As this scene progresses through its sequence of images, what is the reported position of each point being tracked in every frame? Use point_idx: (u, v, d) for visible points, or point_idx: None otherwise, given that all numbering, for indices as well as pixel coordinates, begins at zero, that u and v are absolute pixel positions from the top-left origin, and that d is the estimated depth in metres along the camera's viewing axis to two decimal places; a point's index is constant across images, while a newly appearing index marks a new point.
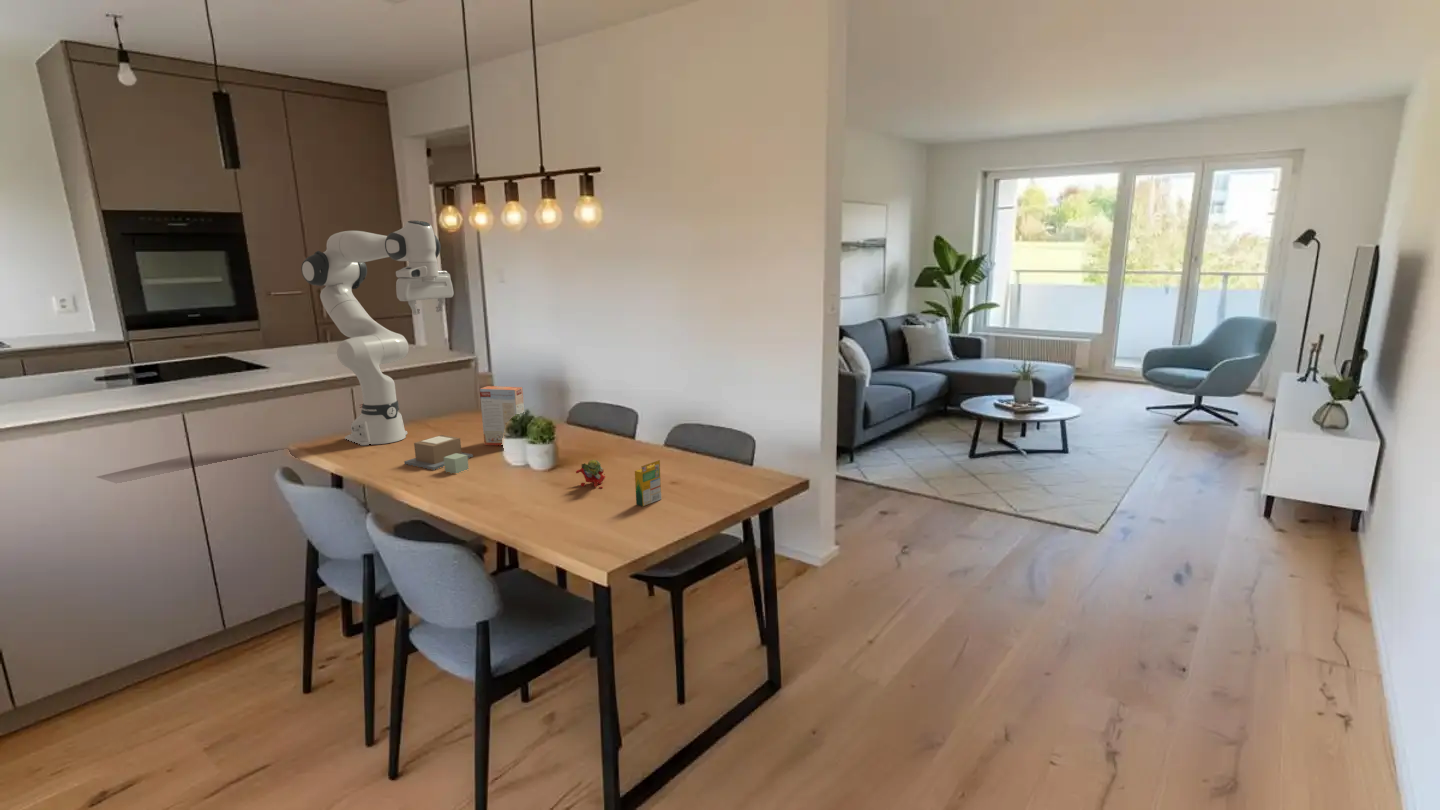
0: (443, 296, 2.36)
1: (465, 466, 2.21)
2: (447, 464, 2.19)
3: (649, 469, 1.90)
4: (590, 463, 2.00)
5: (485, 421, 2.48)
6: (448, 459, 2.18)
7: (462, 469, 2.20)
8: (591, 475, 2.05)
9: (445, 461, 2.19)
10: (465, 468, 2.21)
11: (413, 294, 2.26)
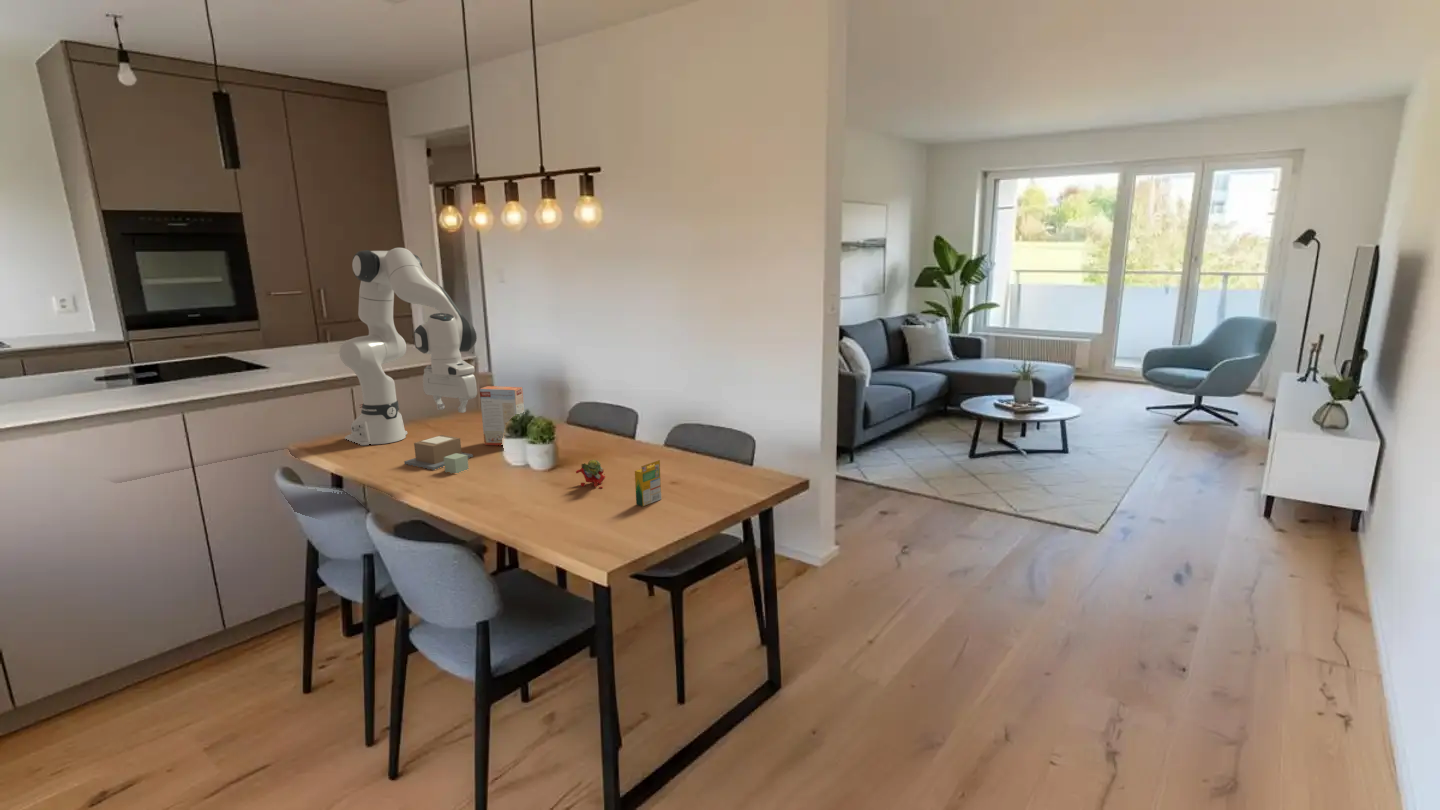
0: None
1: (465, 466, 2.21)
2: (447, 464, 2.19)
3: (649, 469, 1.90)
4: (590, 463, 2.00)
5: (485, 421, 2.48)
6: (448, 459, 2.18)
7: (462, 469, 2.20)
8: (591, 475, 2.05)
9: (445, 461, 2.19)
10: (465, 468, 2.21)
11: None
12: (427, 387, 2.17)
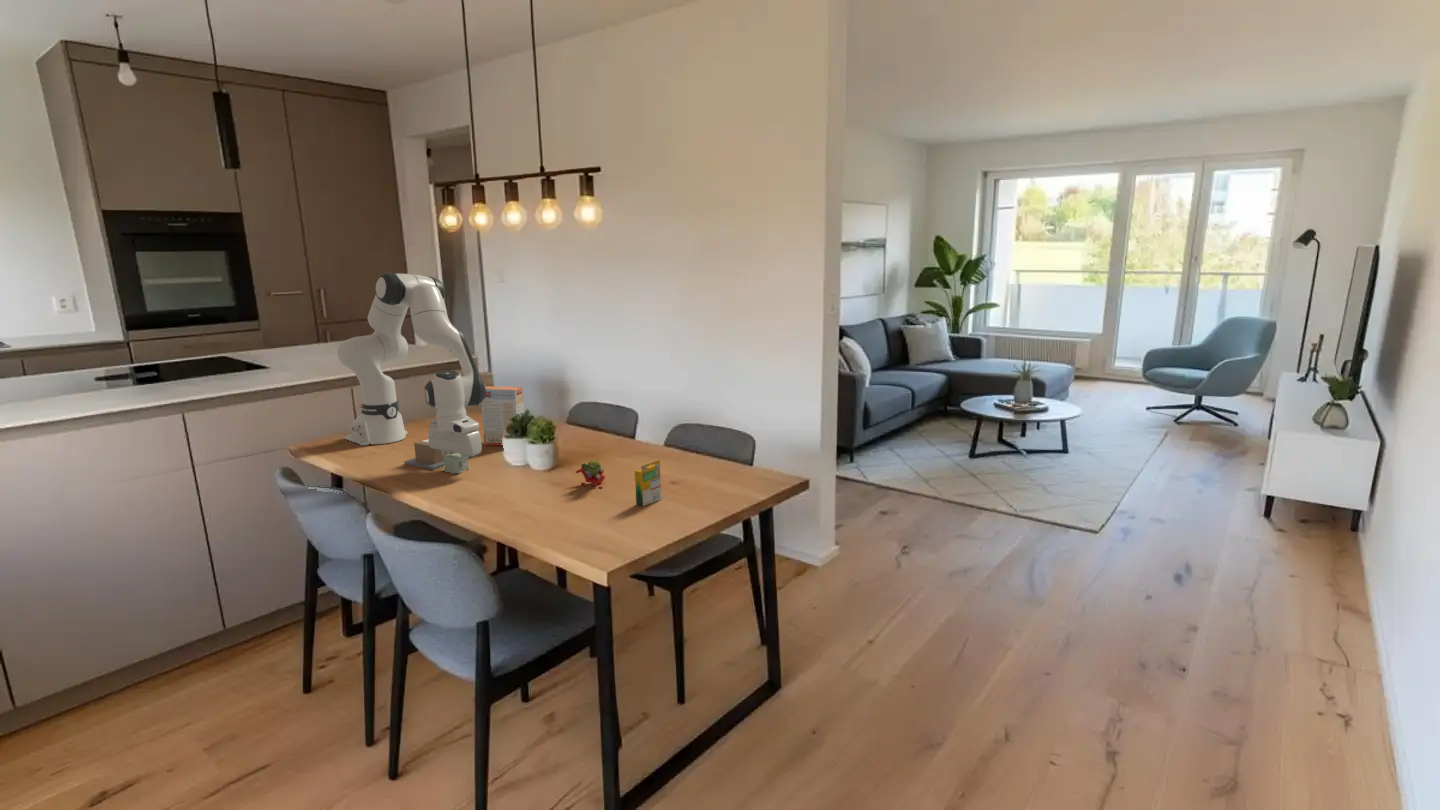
0: None
1: None
2: (447, 464, 2.19)
3: (649, 469, 1.90)
4: (590, 463, 2.00)
5: (485, 421, 2.48)
6: (448, 459, 2.18)
7: (462, 469, 2.20)
8: (591, 475, 2.05)
9: (445, 461, 2.19)
10: (465, 468, 2.21)
11: None
12: (432, 442, 2.21)
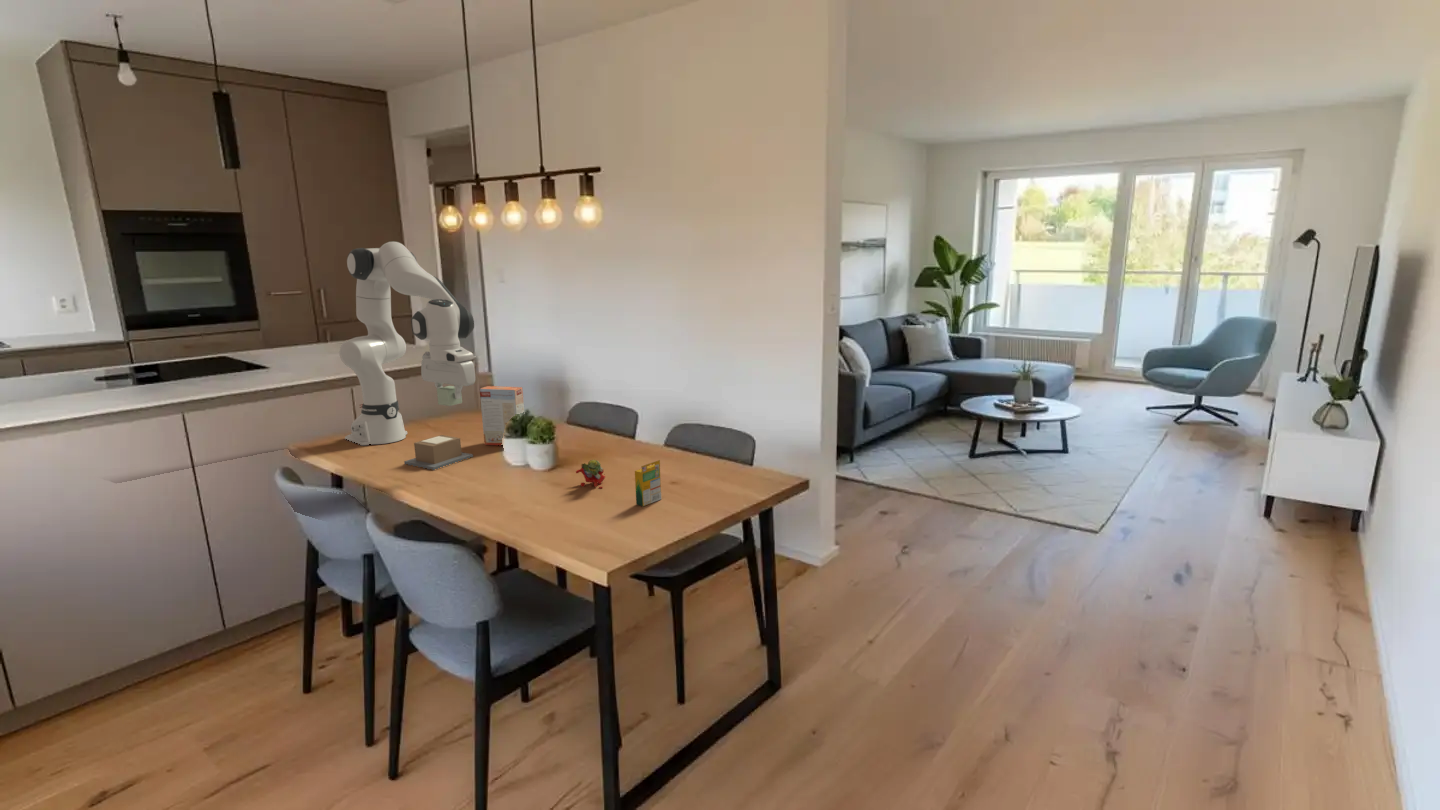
0: None
1: (459, 398, 2.16)
2: (440, 395, 2.14)
3: (649, 469, 1.90)
4: (590, 463, 2.00)
5: (485, 421, 2.48)
6: (441, 390, 2.13)
7: (455, 401, 2.15)
8: (591, 475, 2.05)
9: (438, 392, 2.14)
10: (459, 400, 2.16)
11: None
12: (425, 374, 2.16)
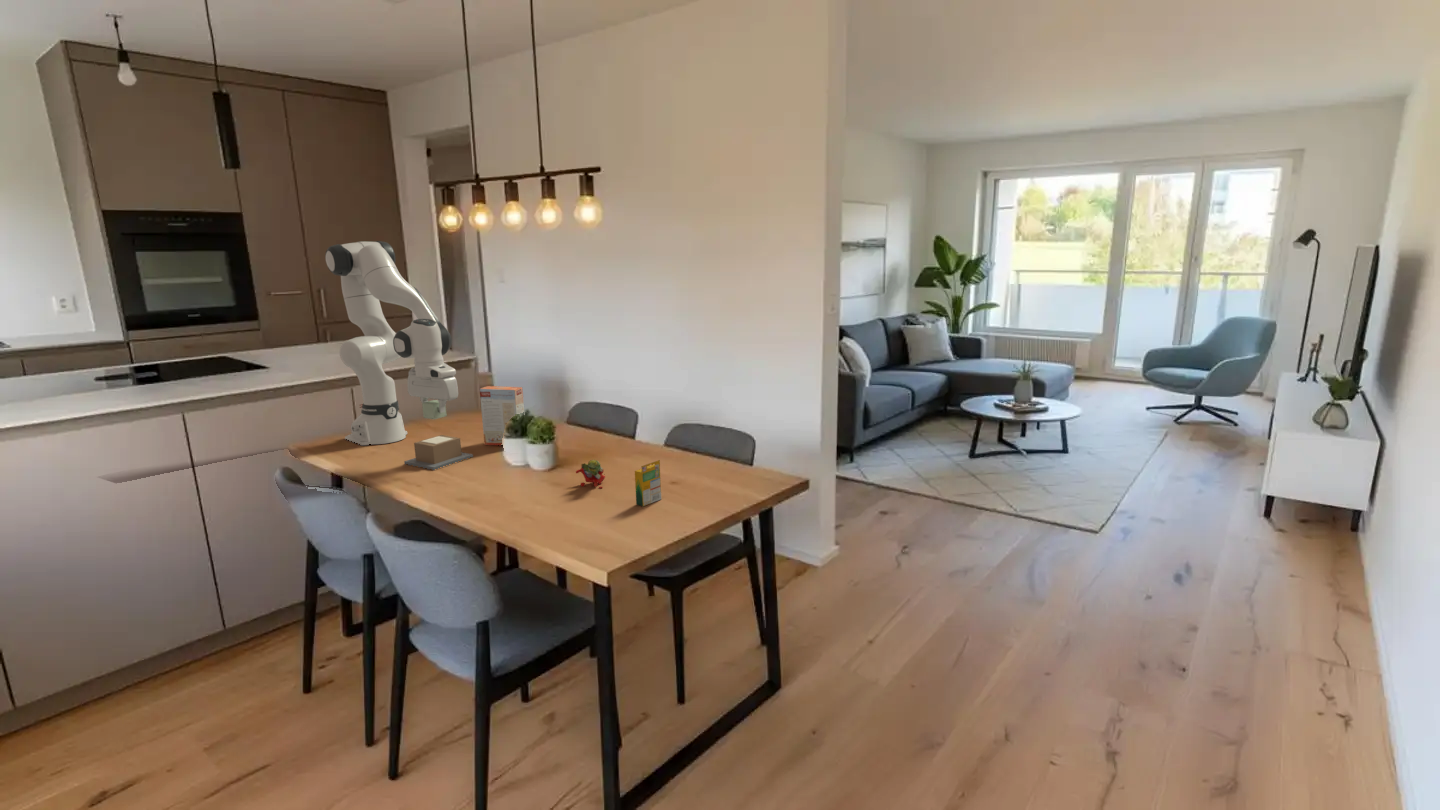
0: None
1: (443, 412, 2.28)
2: (425, 409, 2.26)
3: (649, 469, 1.90)
4: (590, 463, 2.00)
5: (485, 421, 2.48)
6: (426, 404, 2.26)
7: (440, 414, 2.27)
8: (591, 475, 2.05)
9: (423, 407, 2.27)
10: (443, 414, 2.28)
11: None
12: (411, 389, 2.29)
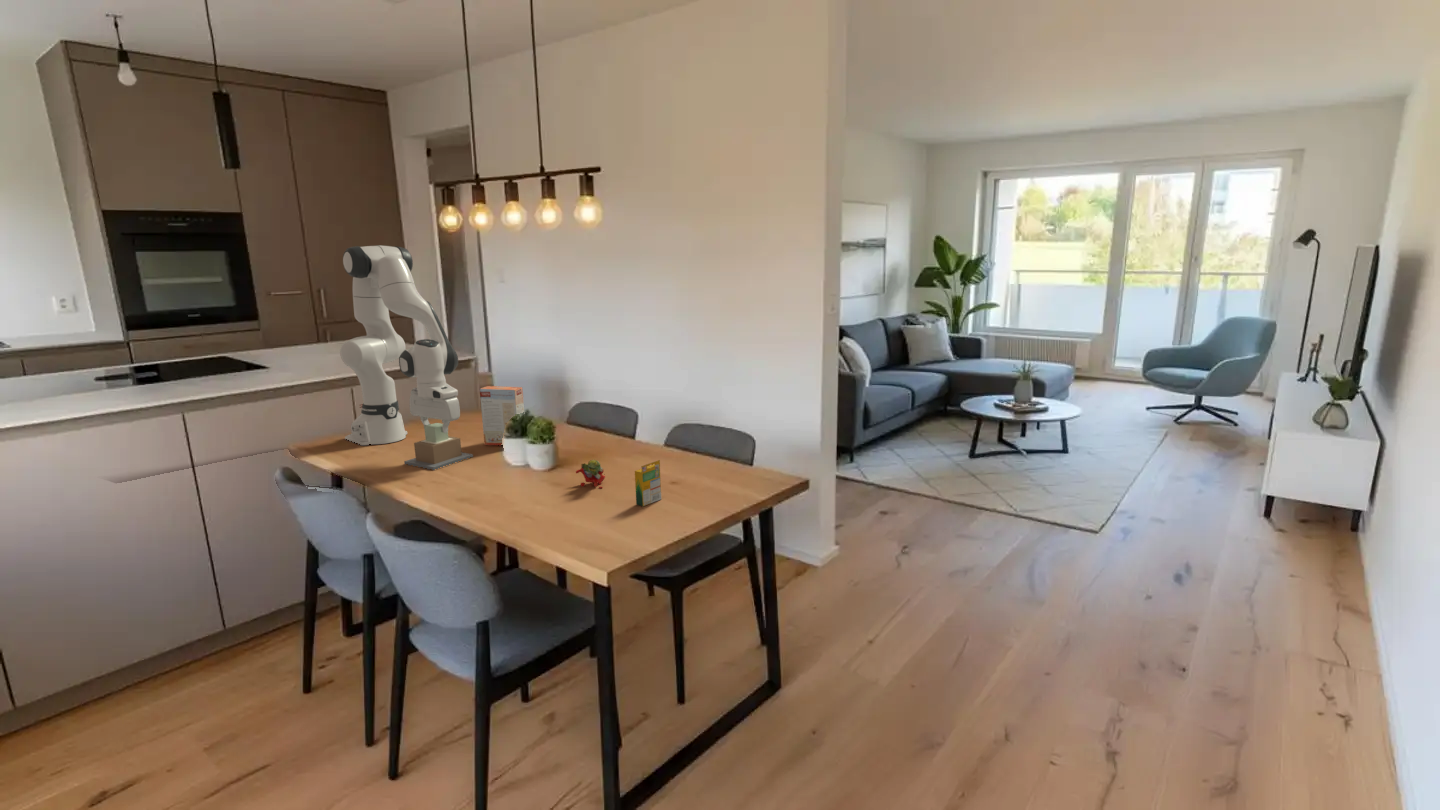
0: None
1: (445, 435, 2.30)
2: (427, 433, 2.28)
3: (649, 469, 1.90)
4: (590, 463, 2.00)
5: (485, 421, 2.48)
6: (428, 428, 2.28)
7: (442, 438, 2.29)
8: (591, 475, 2.05)
9: (425, 430, 2.28)
10: (445, 437, 2.30)
11: None
12: (413, 408, 2.30)
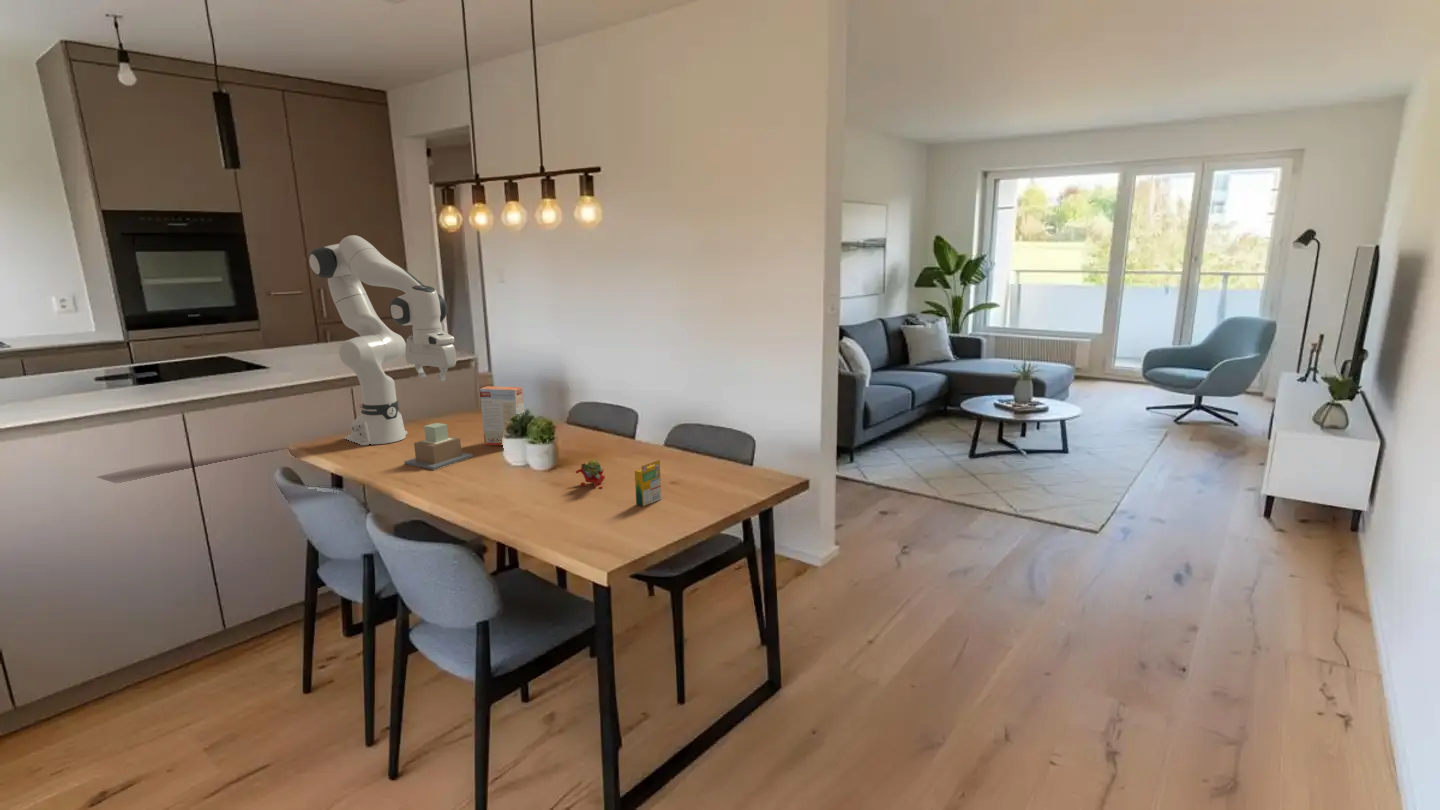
0: None
1: (445, 435, 2.30)
2: (427, 433, 2.28)
3: (649, 469, 1.90)
4: (590, 463, 2.00)
5: (485, 421, 2.48)
6: (428, 428, 2.28)
7: (442, 438, 2.29)
8: (591, 475, 2.05)
9: (425, 430, 2.28)
10: (445, 437, 2.30)
11: None
12: (409, 356, 2.28)
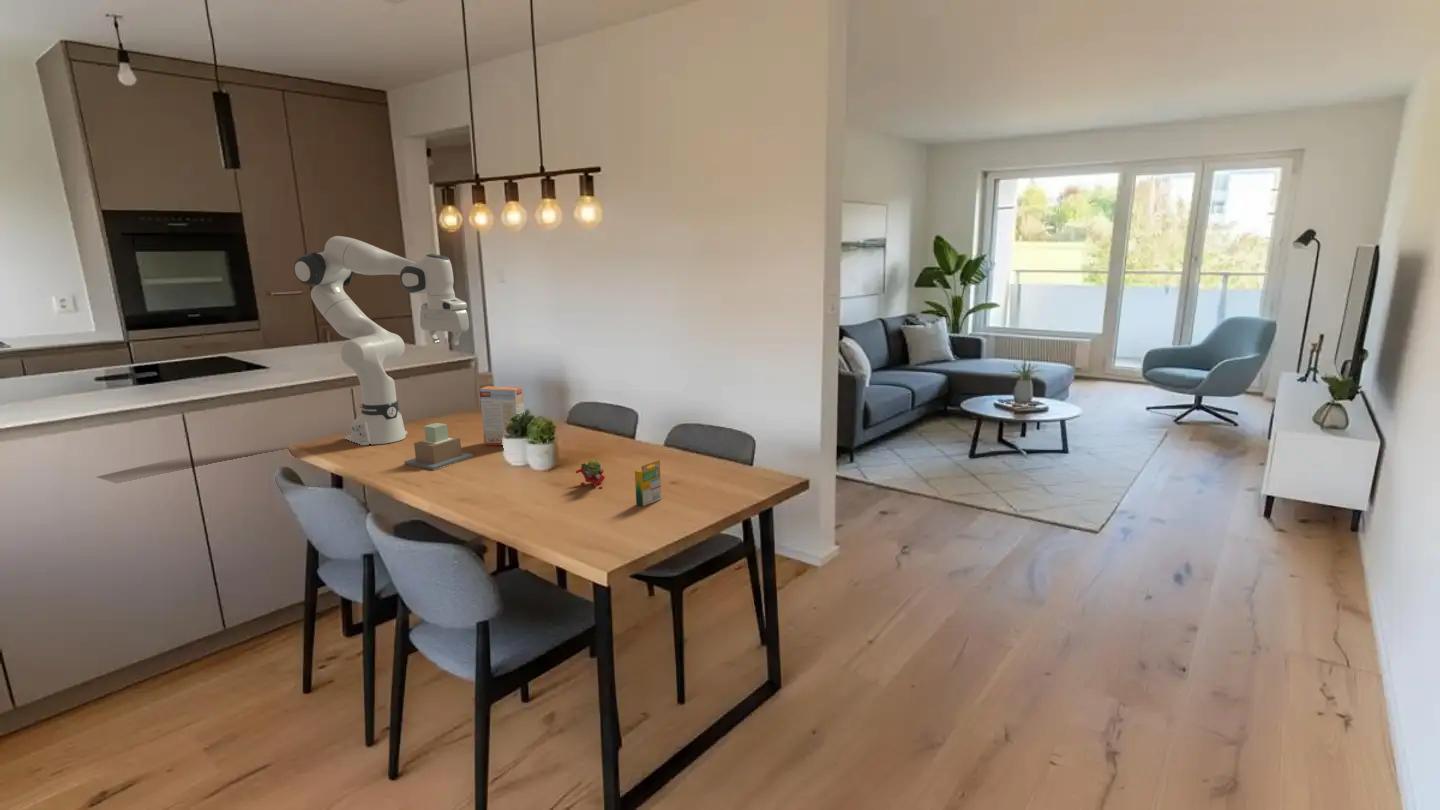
0: None
1: (445, 435, 2.30)
2: (427, 433, 2.28)
3: (649, 469, 1.90)
4: (590, 463, 2.00)
5: (485, 421, 2.48)
6: (428, 428, 2.28)
7: (442, 438, 2.29)
8: (591, 475, 2.05)
9: (425, 430, 2.28)
10: (445, 437, 2.30)
11: None
12: (423, 323, 2.39)
